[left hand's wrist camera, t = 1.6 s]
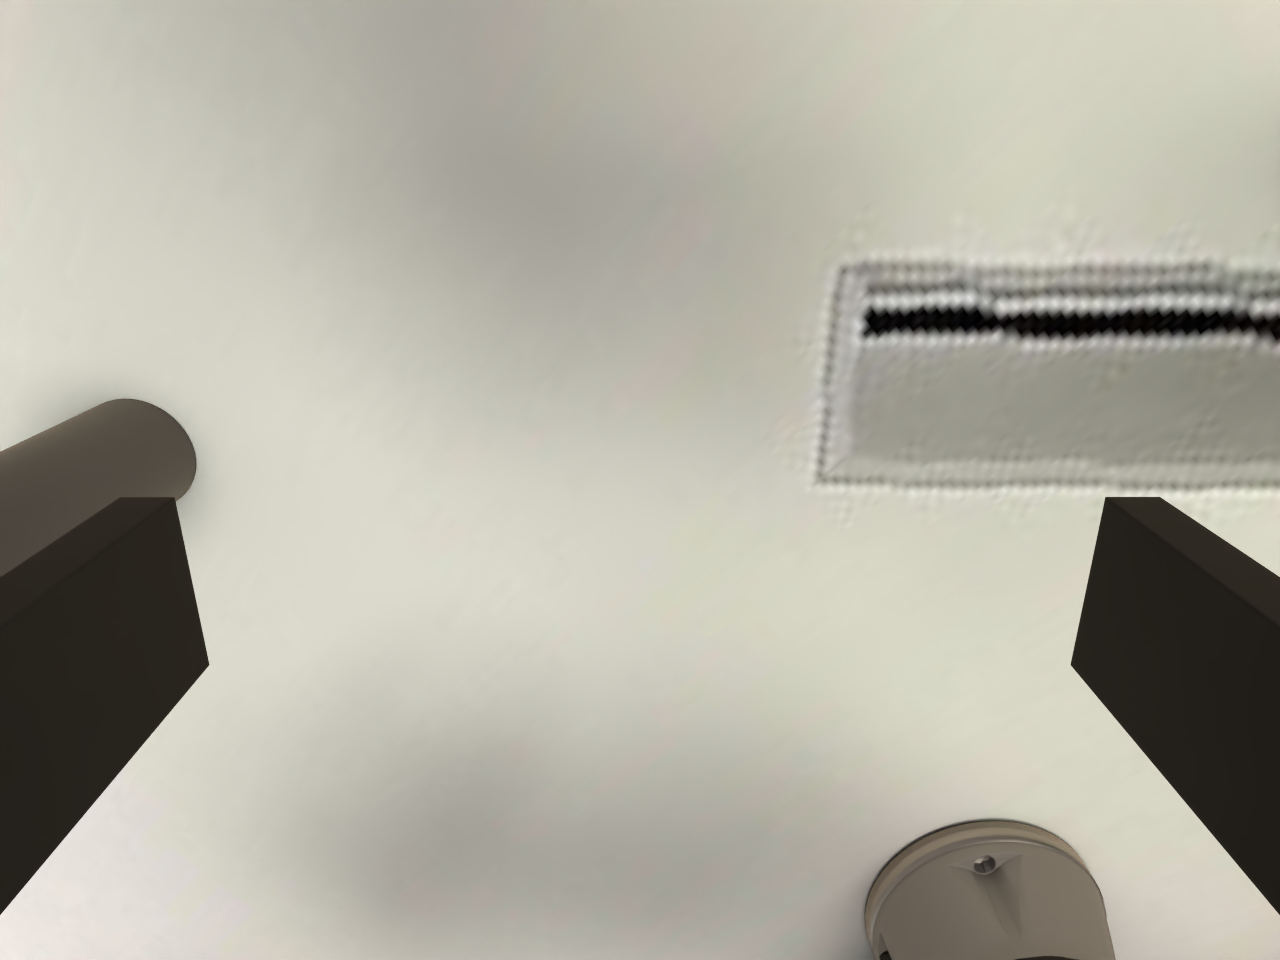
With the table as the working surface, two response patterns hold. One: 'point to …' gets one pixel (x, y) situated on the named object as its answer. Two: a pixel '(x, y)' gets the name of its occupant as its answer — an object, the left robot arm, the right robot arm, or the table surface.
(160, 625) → the left robot arm
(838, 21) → the table surface
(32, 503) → the bottle
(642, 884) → the table surface
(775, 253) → the table surface
